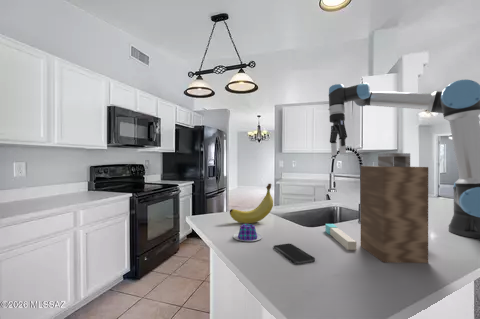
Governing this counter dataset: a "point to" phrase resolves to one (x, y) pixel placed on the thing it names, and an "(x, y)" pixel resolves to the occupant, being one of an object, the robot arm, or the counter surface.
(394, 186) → the stand
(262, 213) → the banana
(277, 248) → the phone
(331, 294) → the counter surface
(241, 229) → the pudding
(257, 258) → the counter surface
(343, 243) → the cream teal square bar
